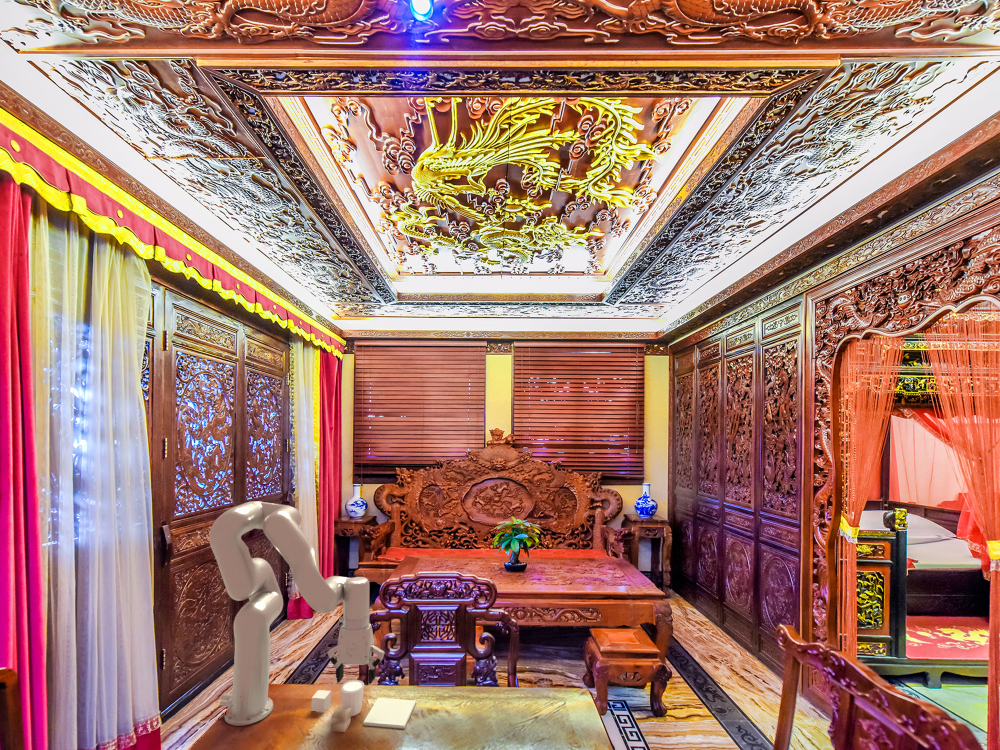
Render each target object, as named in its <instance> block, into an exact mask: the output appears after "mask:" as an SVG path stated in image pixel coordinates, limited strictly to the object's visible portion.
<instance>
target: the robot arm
mask: <svg viewBox="0 0 1000 750" xmlns="http://www.w3.org/2000/svg"><path fill="white" fill-rule="evenodd" d="M301 524H302V515H301V512H300V511H299V510H298V509H297V508H296V507H293V506H291V505H288V504H287V505H286V504H280V503H279V504H278V503H273V502H271V503H270V502H264V501H255V500H253V501H248V502H247V501H246V502H244V503H241V504H239V505H235V506H234V507H232V508H229V509H227V510H226V511H224V512H223V513H222V514H221V515H219V516H218V517H217V518H216V519H215V521H214V522H213V524H212V525H211V526H210V530H209V533H208V534H209V537H208V540H209V541H208V542H209V546H210V548H211V551H212V553H213V555H214V557H215V560H216V563H217V566H218V569H219V571H220V572H219V573H220V576H221V577H222V580H223V584H224V586H225V589H226V591H227V595H228V596H229V597H230V599H232V600H235V601H238V602H239V601H244V600H246V599H248V600H249V601H248V602H246V603H245V604H244V605H243V606H242V607H240V609H239V611H238V612H237V613H236V616H235V617H234V620H233V635H234V637H233V638H234V657H233V659H234V660H233V661H234V662H233V663H234V664H233V677H232V691H231V693H222V695H221V698H220V701H219V706H223V707H224V706H226V707H227V709H226V710H225V712H226V711H227V710H228V709H229V708H230V707H231V706H232V705H233V706H232V707H231V708H230V711H229V713H228V714H227V715H226V716H225V715H224V721H225V722H226V723H227V724H229V725H231V726H237V727H238V726H242V727H243V726H247V725H252V724H254V723H257V722H259V721H261V720H263V719H265V718H267V716H269V715H270V713H271V712H272V711H273V709H274V701H273V700H272V699H271V698H270V697H269V685H270V664H271V648H272V647H271V646H272V645H271V644H272V643H271V642H272V641H271V635H270V626H271V625H272V624H273V622H274V621H275V620H276V619H277V618H278V616H279V615H280V614H281V612H282V611H283V607H284V599H283V595H282V591H281V589H280V586H279V584H278V581H277V580H278V579H277V577H276V575H275V572H274V570H273V568H272V566H271V564H270V563H269V562H268V561H267V560H266V559H264V558H261V557H253V558H252V556H251V553H250V551H249V547H248V546H247V544H246V543H245V541H243V539H242V536H243V535H244V534H246V533H248V532H250V531H253V530H254V529H257V530H258V529H260V530H263V533H264V535H265V537H266V538H267V539H268V540H269V542H270V543H271V545H272V546H273V547H274V548H275V549H276V550H277V552H278V553H279V554H280V555H281V556H282V558H283V559H284V561H285V562H286V563H287V564H288V565H289V569H290V572H291V576H292V578H293V581H294V583H295V586H296V588H297V591H298V593H299V594H300V595H301V597H302V598H303V599H304V600H305V603H307V604H308V605H309V607H311V608H312V610H314V611H315V612H317V613H318V614H325V615H326V614H329V613H331V612H332V611H334V610H335V609H336V607H337V606H338V605H339V604H340V603H341V602H343V615H342V616H339V619H338V622H340V623H342V625H341V626H340V629H339V632H338V633H339V634H338V639H337V645H335V646H334V647H332V648H331V649H329V650H328V651H327V655H328V657H329V660H330V663H332V665H333V666H334V667H333V668H334V669H335V678H336V683H338V684H339V683H341V681H342V680H343V678H344V675H345V674H344V672H345V671H344V670H345V669H344V667H345V666H344V665H357V666H358V665H359V666H360V665H361V666H363V665H367V666H368V667H369V669H368V672H367V673H368V684H369V685H371V684H372V683H373V681H374V680H375V679H376V676H377V675H376V674H377V673H376V671H377V666H378V665H380V663H381V662H382V659H383V658H384V655H385V651H384V650H383V649H381V648H380V647H378V646H376V645H375V640H374V632H373V628H372V627H373V626H372V624H371V623H370V580H369V579H368V578H367V577H364V576H356V577H347V576H339V575H332V576H329V577H326V579H324V577H323V576H322V574H321V573H320V570H319V568H318V566H317V561H316V547H315V545H314V542H312V541H311V539H310V538H309V537H308V535H307V534H306V533H305V532H304V531H303V529H302V528H301V527H300V525H301ZM335 653H336V654H335ZM374 654H375V655H377V658H375V657H374ZM240 696H241V697H240Z"/></svg>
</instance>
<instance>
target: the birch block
mask: <svg viewBox="0 0 1000 750" xmlns="http://www.w3.org/2000/svg"><path fill="white" fill-rule="evenodd" d="M330 717H331V718H330V732H339V733H345V732H346V731H347V730H348V727H349V726H350V724H351V717H352V716H351V708H341V707H339V706H338V707H336V709H335V711H334V712H333V713H332V714H331V716H330Z"/></svg>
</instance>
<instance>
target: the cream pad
mask: <svg viewBox="0 0 1000 750" xmlns="http://www.w3.org/2000/svg"><path fill="white" fill-rule="evenodd" d="M416 705H417V700H413V699H402V698H388V697H377V699H376V700H375V702H374V704H373V705H372V707H371V709H370V710H369V712H368V714H367V716H366V717H365V719H364V721H363V723H362V724H363V726H370V727H379V728H380V727H382V728H391V729H392V728H393V729H403V730H404V729H406V726H407V725H408V722H409V720H410V718H411V715H412V714H413V712H414V709H415V708H416Z"/></svg>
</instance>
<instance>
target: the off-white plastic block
mask: <svg viewBox="0 0 1000 750" xmlns="http://www.w3.org/2000/svg"><path fill="white" fill-rule="evenodd" d="M331 696H332V691H331V690H322V689H318V690H317V691H316V692H315V693H314V694H313V696H312V697H311V710H310V711H316V712H315V713H323V714H324V713H325V712H326V711H327V709H328V708H329V707H330V706H331V698H332V697H331ZM329 705H330V706H329Z"/></svg>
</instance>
